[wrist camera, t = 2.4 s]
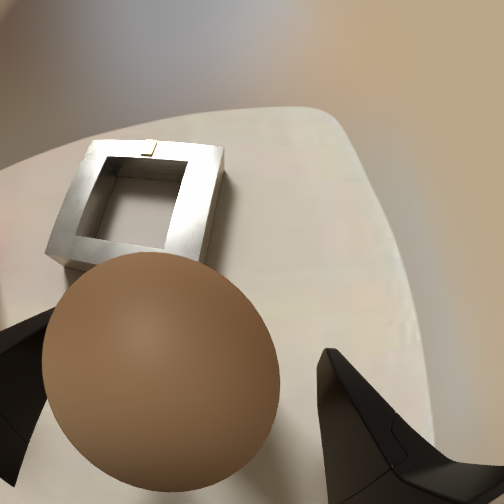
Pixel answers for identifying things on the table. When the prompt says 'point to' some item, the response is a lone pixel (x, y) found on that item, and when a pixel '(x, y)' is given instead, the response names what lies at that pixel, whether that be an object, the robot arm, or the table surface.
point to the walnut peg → (160, 372)
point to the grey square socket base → (139, 166)
